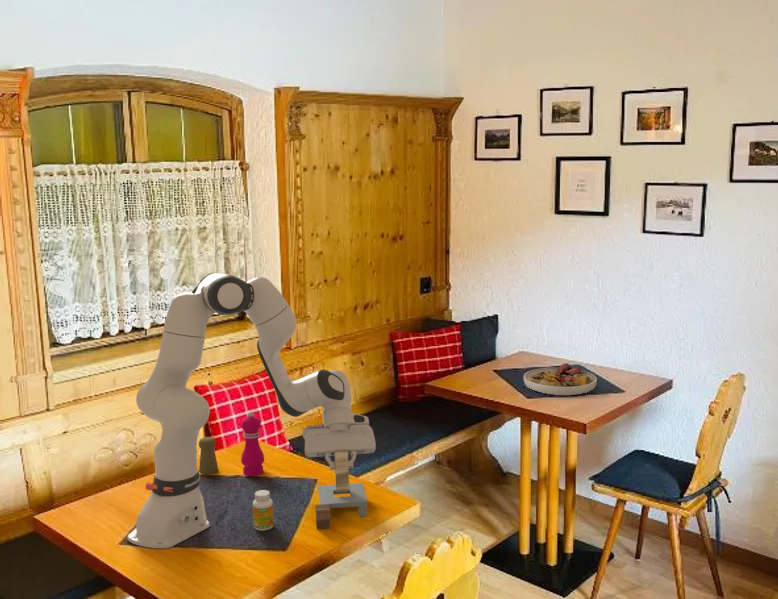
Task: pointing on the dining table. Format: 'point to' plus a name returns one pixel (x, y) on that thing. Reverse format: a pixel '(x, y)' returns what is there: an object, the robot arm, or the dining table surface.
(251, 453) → the pepper mill
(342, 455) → the maple peg
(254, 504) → the supplement bottle
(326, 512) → the walnut peg
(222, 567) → the dining table surface
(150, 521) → the robot arm
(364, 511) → the collar stand
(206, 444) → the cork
